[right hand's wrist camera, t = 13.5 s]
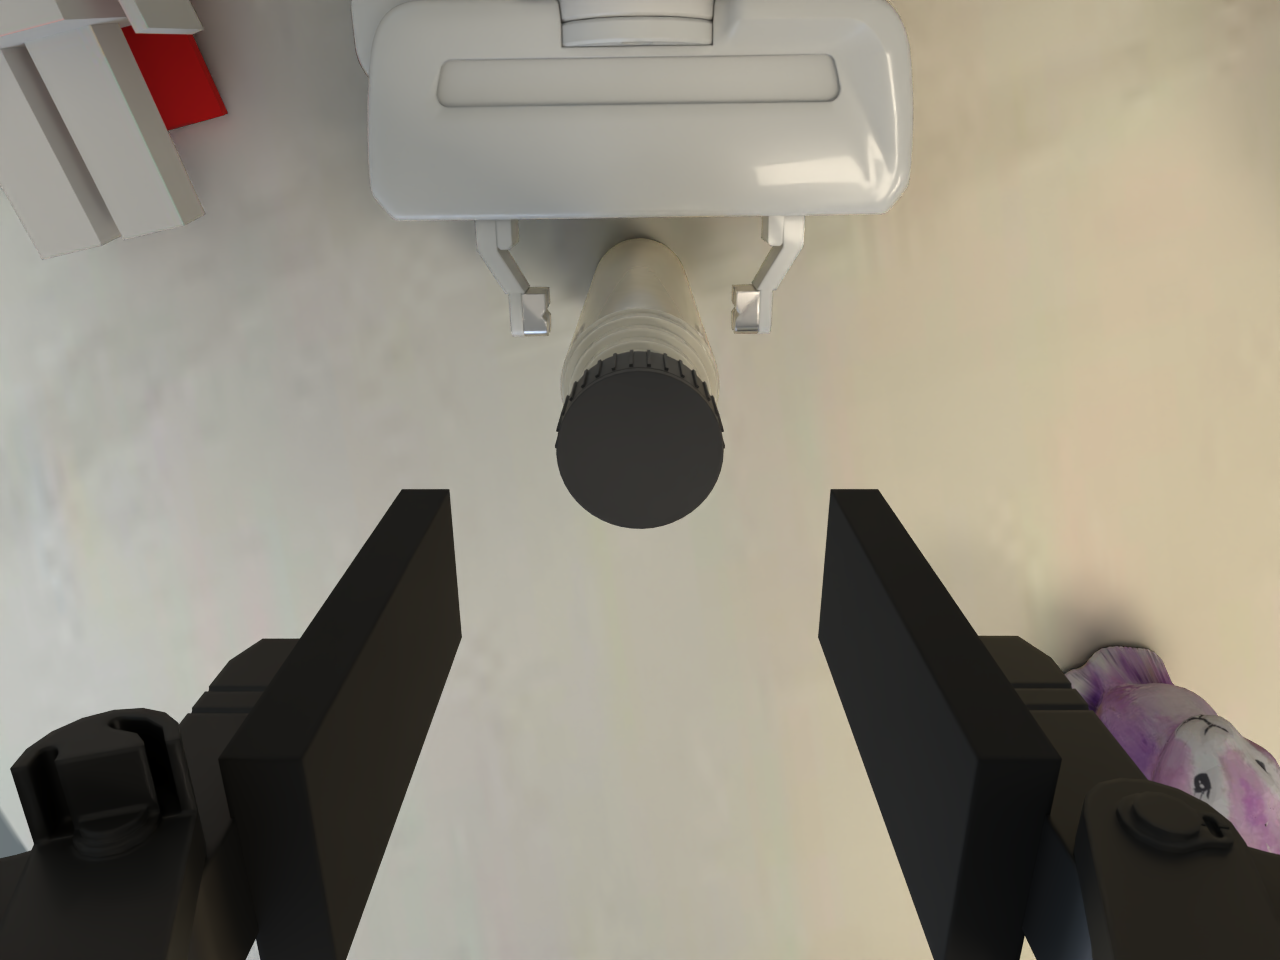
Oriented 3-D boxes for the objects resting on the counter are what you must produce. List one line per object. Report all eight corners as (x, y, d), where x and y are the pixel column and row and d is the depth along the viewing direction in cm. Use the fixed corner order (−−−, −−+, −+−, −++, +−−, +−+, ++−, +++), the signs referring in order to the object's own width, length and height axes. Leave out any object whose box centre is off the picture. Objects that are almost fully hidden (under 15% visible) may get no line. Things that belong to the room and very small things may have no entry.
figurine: (1130, 603, 48) (1331, 794, 34) (1212, 725, 51) (1429, 946, 37) (980, 694, 50) (1112, 909, 36) (1067, 806, 53) (1220, 1044, 39)
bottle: (692, 243, 41) (752, 361, 19) (680, 337, 43) (723, 545, 21) (597, 233, 41) (548, 339, 19) (589, 327, 43) (535, 527, 21)
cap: (729, 356, 21) (737, 378, 19) (707, 506, 22) (713, 539, 20) (567, 339, 21) (560, 359, 19) (555, 491, 22) (547, 523, 20)
